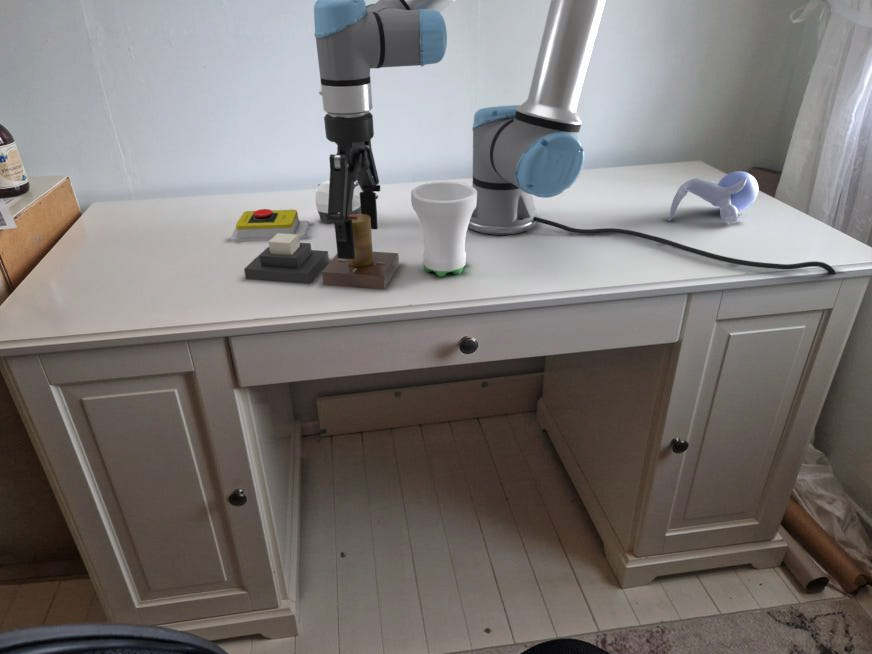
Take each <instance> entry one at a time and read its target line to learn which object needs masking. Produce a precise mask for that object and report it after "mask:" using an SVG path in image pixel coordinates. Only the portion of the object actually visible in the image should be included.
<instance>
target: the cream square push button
mask: <svg viewBox="0 0 872 654" xmlns="http://www.w3.org/2000/svg"><path fill="white" fill-rule="evenodd" d="M300 243H301V242H300V240H299V235H297V234H280V233H278V234H276V235H275V236H274V237H273V238H272V239H271V240H270V241H268V247H270V253H271V254H282V255H293V254H294V253H295V252H296V251H297V250H298V249H299V248H300Z"/></svg>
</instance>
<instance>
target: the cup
mask: <svg viewBox="0 0 872 654" xmlns="http://www.w3.org/2000/svg"><path fill="white" fill-rule="evenodd" d="M410 199H411V207H412V209H413V211H414V212H415V214H416V216H417V219H418V221H419V225H420V228H421V232H422V237H423V246H424V247H423V249H424V251H423V254H422V259H423V260H422V261H423V262H422V263H423V268H424V270H425V272H426V273H432V272H434V273H435V275H436V276H438V277H439V278H440V277H441V278H442V277H445V276H446V275H447V274H448V273H452V274H454V275H461V273H462V271H463V269H464V267H465V266H466V265H467V253H466V250H465V249H466V247H465V246H466V245H465V244H466V236H467V231H468V229H469V228H468V224H469V221H470V218H471V215H472V213H473V211H474V209H475V208H476V205H477V191H476V189H475V188H474V187H472V185H470V184H468V183H463V182H458V181H457V182H455V181H433V182H427V183H424V184H420V185H418V186H415V187H414V188H413V189H411V192H410Z"/></svg>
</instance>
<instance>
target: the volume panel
mask: <svg viewBox="0 0 872 654" xmlns="http://www.w3.org/2000/svg"><path fill="white" fill-rule="evenodd" d="M399 259H400V258H399V253H398V252H388V251H387V252H386V251H373V260H374V261H373V263H372V264H371V265H368V266H364V267H355V266H351V265H350V264H349V263H348V259H342V258H338V254H337V253H336V254H335V255H334V257H333V258H332V259H331V260H330V261H329V262H328V263H327V264H326V265H325V267H324V268H323V269H322V270H321V277H322V284H323V286H332V287H333V286H334V287H346V288H348V287H349V288H359V289H360V288H361V289H372V290H373V289H375V290H386V288H387V286H388V284H389V283H390V281H391V279H392V278H393V276H394V274H395V273H396V271H397V270H398V268H399V266H400V260H399Z"/></svg>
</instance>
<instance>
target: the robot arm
mask: <svg viewBox="0 0 872 654" xmlns="http://www.w3.org/2000/svg"><path fill="white" fill-rule="evenodd" d="M456 1H457V0H378V1H376V3H370V4H367V5H366V1H365V0H316V1H315V3H314V6H313V17H314V18H313V19H314V21H313V22H314V38H315V43H316V44H315V45H316V53H317V62H318V71H319V78H320V79H319V80H320V88H319V89H318V94H319V96H321V99H322V109H323V111H324V112H325V113H326V114H325V115H324V117H323V121H324V131H325V138H326V140H327V141H329V142H331V143H334V144H336V146H337V147H336V150H337V151H336V154H331V153H330V154H329V158H328V159H329V180H330V184H329V202H328V215H327V219H328V221H332V222H333V224H334V233H335V242H336V243H335V244H336V254H338V258H342V259H354V258H355V250H354V239H353V228H352V219H349V216H350V209H351V202H352V195H353V188H354V184H355V182H358V183H359V185H360V188H361V190H362V191H364V192H360V204H361V214H366V215H369V216H370V221H371V230H378V229H379V224H378V223H379V222H378V209H377V208H378V207H377V199H376V192H381V185H380V184H379V183H380V179H379V174H378V170H377V167H376V161H375V158H374V157H375V156H374V154H373V148H372V139H373V138H374V135H375V131H374V129H375V128H374V118H373V117H374V116H373V114H372V112H370V111H372V109H373V97H372V95H373V94H372V83H371V69H382V68H396V67H397V68H398V67H413V66H414V67H415V66H420V67H424V66H426V65H427V66H428V65H434V64H438V63H440V62H441V61H442V60H443V58H444V57H445V55H446V50H447V46H448V45H447V44H448V33H447V32H448V31H447V26H446V22H445V20H444V19H445V18H444V16H443V15H442V13H443V12H444V11H445V10H447V8H449V7H450V6H451V5H452V4H453V3H455V2H456ZM606 2H607V0H550V2H549V7H548V12H547V16H546V19H545V23H544V29H543V33H542V37H541V41H540V47H539V50H538V54H537V58H536V62H535V67H534V70H533V74H532V80H531V83H530V88H529V92H528V96H527V99H526V100H525V101H524V102H522V103H521V104H517V105H515V104H513V105H499V106H498V105H497V106H489V107H488V106H487V107H483V108H480V109H478V110H477V111H476V112H475V113H474V117H473V124H472V125H473V126H472V130H471V131H472V185H471V186H472V187H474V188H475V189H476V191H477V205H476V208H475V209H474V211H473V213H472V215H471V218H470V221H469V224H468V228H467V229H469V230H472V231H474V232H478V233H481V234H486V235H496V236H502V235H503V236H504V235H505V236H506V235H507V236H508V235H516V234H521V233H524V232H527V231H530V230H531V229H533V228H534V227H535V226H536V224H537V223H540V224H544V225H547V226H550V227H554V228H557V229H560V230H562V231H565V232H570V233H572V234H573V233H574V234H583V235H594V234H621V235H627V236H632V237H633V236H634V237H638V238H641V239H645V240H648V241H652V242H657V243H659V244H663V245H665V246H666V245H667V246H668V247H669V246H670V247H672V248H676V249H678V250H681V251H685V252H688V253H691V254H695V255H698V256H702V257H705V258H709V259H712V260H716V261H720V262H724V263H728V264H734V265H739V266H746V267H754V268H763V269H775V270H797V269H804V268H813V267H817V268H822V269H823V270H825V271H827V273H828V274H832V275H836V274H837V272H836V270H835V268H834V267H832V266H831V265H830V264H828V263H826V262H824V261H823V262H822V261H816V260H815V261H814V260H813V261H804V262H798V263H773V262H761V261H753V260H745V259H740V258H735V257H728V256H724V255H720V254H717V253H712V252H709V251H705V250H701V249H698V248H695V247H691V246H689V245H688V246H687V245H685V244H682V243H679V242H677V241H672V240H669V239H668V238H667V239H666V238H664V237H663V238H662V237H659V236H655V235H653V234H647V233H644V232H639V231H635V230H631V229H624V228H613V227H605V228H604V227H603V228H591V229H590V228H575V227H570V226H567V225H564V224H563V223H562V224H561V223H559V222H555V221H553V220H548V219H545V218H542V217H537V210H536V207H535V202H534V198H533V196H535V197H537V198H541V199H546V198H548V199H549V198H553V197H556V196H559V195H561V194H563V193H564V191H566V190H568V189H569V188H571V187H572V186H573V184H575V182H576V181H577V180H578V178H579V176H580V174H581V173H582V170H583V167H584V163H585V150H584V148H583V145H582V142H581V141H580V139H579V134H580V131H581V127H582V122H583V121H582V119H581V117H580V115H579V114H578V110H577V109H578V105H579V101H580V98H581V95H582V90H583V86H584V82H585V78H586V75H587V71H588V68H589V64H590V60H591V58H592V57H591V56H592V53H593V49H594V45H595V41H596V39H597V35H598V31H599V28H600V24H601V19H602V16H603V12H604V9H605V6H606ZM338 212H339V213H340V214H339V213H338Z"/></svg>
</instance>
